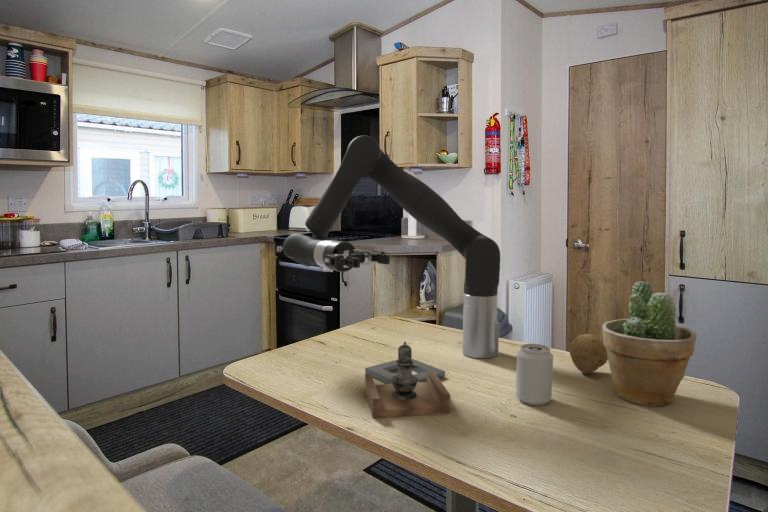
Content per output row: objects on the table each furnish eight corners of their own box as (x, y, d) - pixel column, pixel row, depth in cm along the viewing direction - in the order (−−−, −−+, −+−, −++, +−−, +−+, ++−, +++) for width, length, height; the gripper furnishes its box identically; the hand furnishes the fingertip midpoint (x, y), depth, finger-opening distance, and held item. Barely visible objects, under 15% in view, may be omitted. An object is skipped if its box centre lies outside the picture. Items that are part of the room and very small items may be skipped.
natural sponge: (587, 365, 135) (589, 328, 134) (615, 376, 127) (617, 337, 126) (561, 369, 132) (562, 332, 130) (587, 381, 123) (589, 341, 122)
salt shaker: (409, 402, 107) (410, 346, 106) (385, 396, 110) (386, 342, 109) (422, 393, 112) (423, 339, 111) (399, 387, 115) (399, 335, 114)
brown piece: (433, 387, 119) (433, 371, 119) (449, 413, 106) (450, 394, 105) (364, 391, 117) (364, 374, 116) (372, 418, 103) (372, 398, 103)
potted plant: (712, 409, 107) (722, 292, 104) (636, 418, 103) (644, 296, 100) (648, 379, 125) (655, 278, 122) (581, 385, 121) (586, 281, 118)
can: (551, 395, 115) (553, 343, 113) (550, 409, 108) (553, 353, 106) (517, 391, 117) (518, 340, 116) (514, 404, 110) (516, 350, 109)
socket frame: (407, 362, 137) (407, 356, 137) (444, 377, 126) (445, 371, 126) (365, 373, 128) (365, 367, 128) (401, 390, 118) (401, 384, 117)
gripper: (309, 242, 124) (347, 247, 111) (357, 238, 133) (397, 242, 120) (310, 273, 125) (348, 281, 112) (358, 267, 134) (398, 274, 121)
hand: (373, 261), depth 116 cm, fingers open, 8 cm apart
